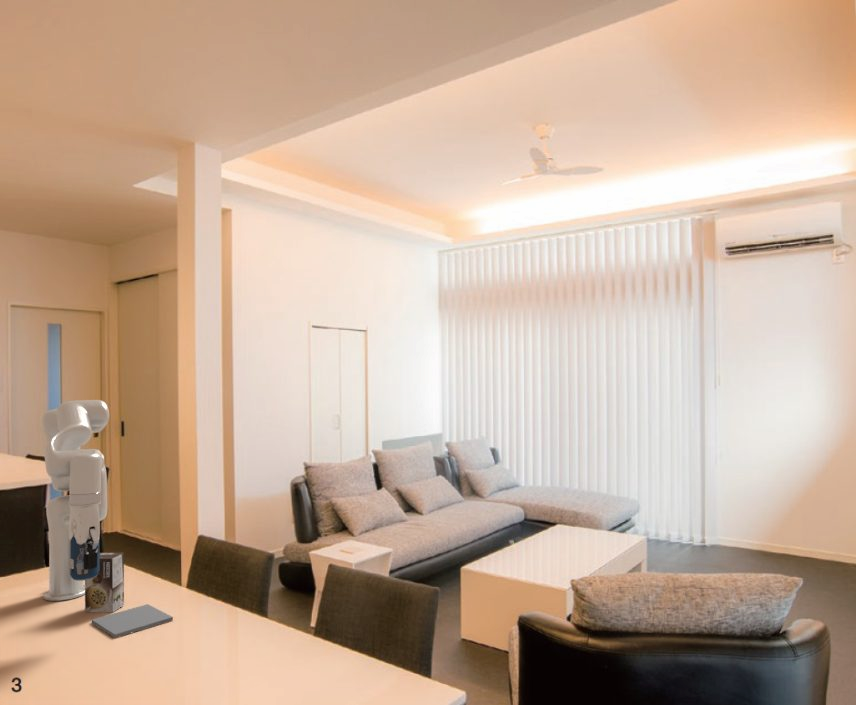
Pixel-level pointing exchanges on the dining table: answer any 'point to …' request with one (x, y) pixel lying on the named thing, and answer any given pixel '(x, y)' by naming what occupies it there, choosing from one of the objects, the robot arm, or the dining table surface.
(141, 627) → the mat
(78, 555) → the soda can
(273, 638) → the dining table surface
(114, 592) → the coffee box
